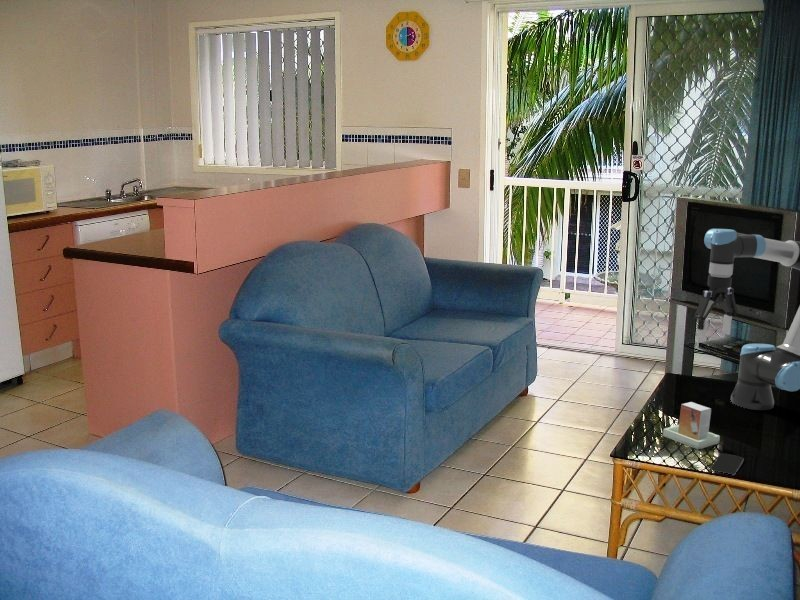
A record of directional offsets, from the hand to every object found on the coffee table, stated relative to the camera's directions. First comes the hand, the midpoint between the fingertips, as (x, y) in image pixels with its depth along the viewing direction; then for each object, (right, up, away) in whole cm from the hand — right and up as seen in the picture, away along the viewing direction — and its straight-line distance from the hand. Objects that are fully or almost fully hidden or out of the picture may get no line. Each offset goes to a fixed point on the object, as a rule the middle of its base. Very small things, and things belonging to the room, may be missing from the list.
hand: (713, 336), depth 296 cm
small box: (-10, -33, -8) cm, 35 cm away
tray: (-11, -34, -8) cm, 36 cm away
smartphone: (-6, -39, -29) cm, 49 cm away
